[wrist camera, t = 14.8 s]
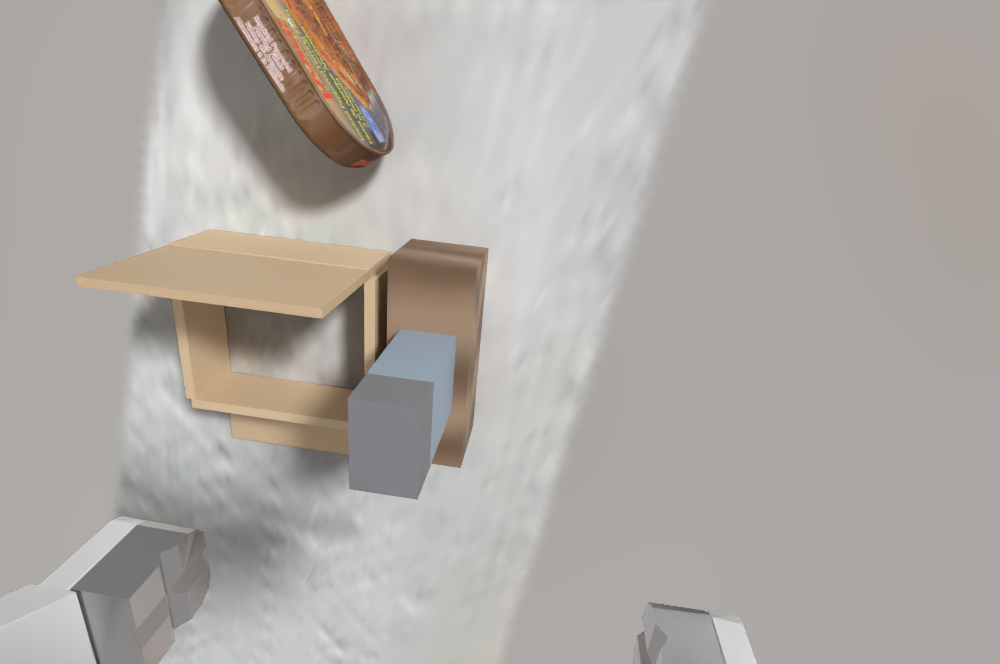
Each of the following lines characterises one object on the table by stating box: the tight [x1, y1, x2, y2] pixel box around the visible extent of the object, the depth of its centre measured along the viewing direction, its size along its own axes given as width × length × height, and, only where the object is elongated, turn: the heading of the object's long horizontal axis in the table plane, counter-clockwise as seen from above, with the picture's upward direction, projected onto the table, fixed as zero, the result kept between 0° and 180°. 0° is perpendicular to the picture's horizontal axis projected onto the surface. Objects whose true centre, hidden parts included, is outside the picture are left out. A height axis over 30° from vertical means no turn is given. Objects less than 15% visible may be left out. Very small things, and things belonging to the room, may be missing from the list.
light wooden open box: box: [75, 229, 391, 455], centre depth 41 cm, size 20×16×13 cm
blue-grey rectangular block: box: [348, 329, 457, 499], centre depth 34 cm, size 6×4×10 cm, turn 175°
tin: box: [218, 0, 394, 168], centre depth 34 cm, size 15×3×8 cm, turn 29°
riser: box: [387, 239, 488, 468], centre depth 42 cm, size 16×6×6 cm, turn 175°
